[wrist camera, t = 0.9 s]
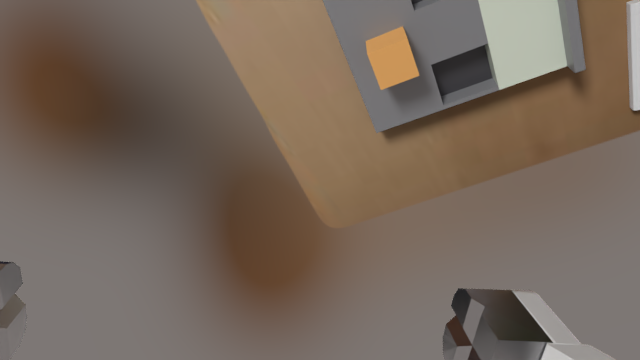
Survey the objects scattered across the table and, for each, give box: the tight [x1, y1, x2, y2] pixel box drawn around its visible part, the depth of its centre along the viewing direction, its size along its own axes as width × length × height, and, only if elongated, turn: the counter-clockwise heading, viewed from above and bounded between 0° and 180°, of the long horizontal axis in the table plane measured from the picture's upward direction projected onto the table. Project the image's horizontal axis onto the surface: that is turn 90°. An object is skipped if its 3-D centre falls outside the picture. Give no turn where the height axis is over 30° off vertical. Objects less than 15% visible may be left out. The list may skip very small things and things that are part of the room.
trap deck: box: [323, 0, 586, 133], centre depth 47 cm, size 22×17×4 cm
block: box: [366, 26, 420, 90], centre depth 47 cm, size 4×4×4 cm
